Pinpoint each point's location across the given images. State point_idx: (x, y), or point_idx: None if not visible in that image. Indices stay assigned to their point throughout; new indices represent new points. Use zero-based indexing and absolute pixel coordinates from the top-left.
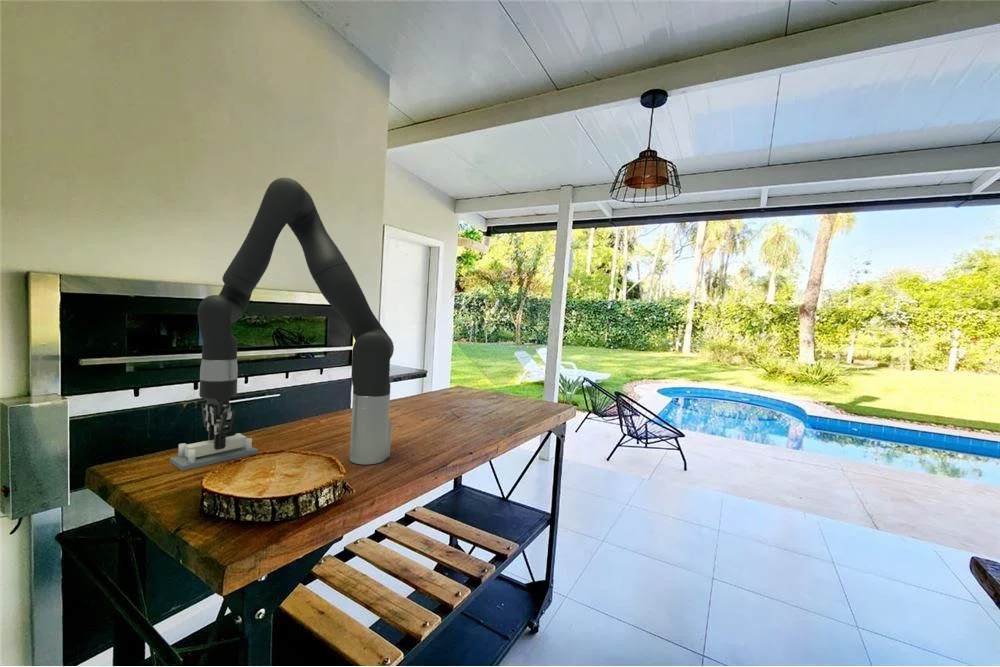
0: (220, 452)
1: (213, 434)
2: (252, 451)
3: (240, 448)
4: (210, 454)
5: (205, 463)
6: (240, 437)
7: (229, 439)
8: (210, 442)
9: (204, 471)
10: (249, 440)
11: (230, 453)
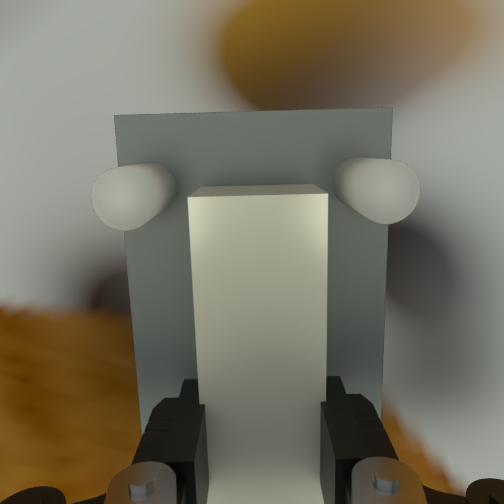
0: None
1: (202, 493)
2: (388, 158)
3: None
4: None
5: None
6: (312, 250)
7: (304, 352)
8: (282, 497)
9: (454, 482)
10: (416, 194)
11: (330, 308)
